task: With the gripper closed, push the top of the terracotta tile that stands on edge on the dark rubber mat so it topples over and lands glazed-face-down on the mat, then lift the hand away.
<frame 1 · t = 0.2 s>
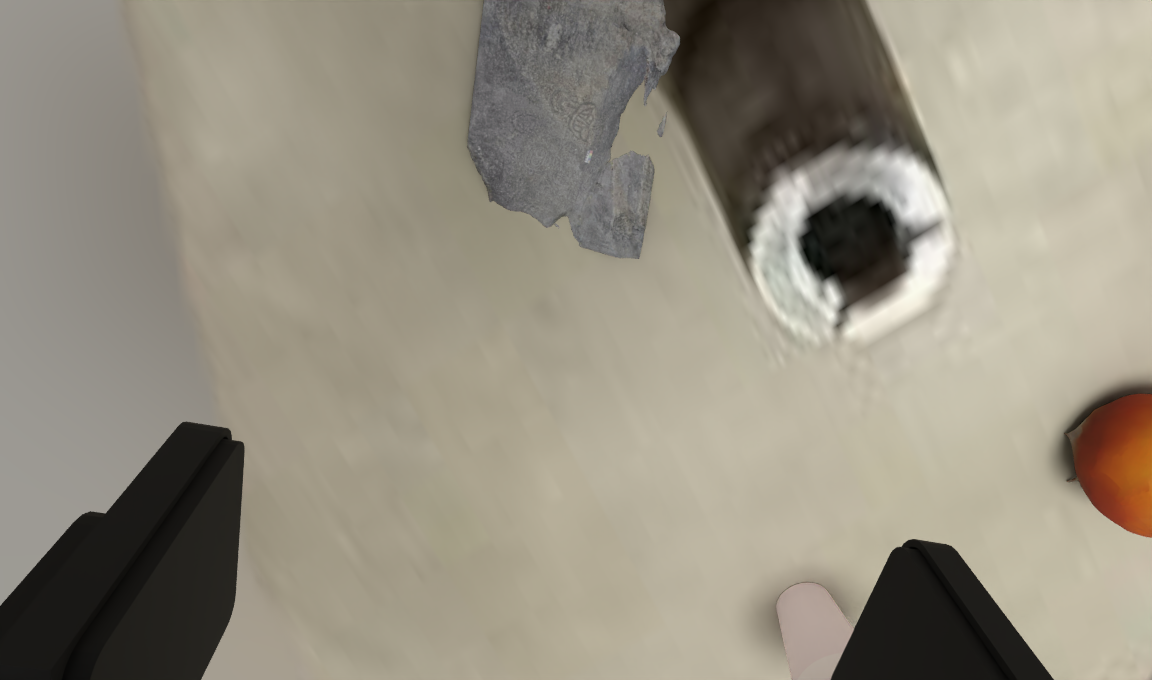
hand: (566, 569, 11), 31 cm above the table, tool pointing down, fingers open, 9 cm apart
fruit: (1112, 434, 48), on the table
stone slab: (577, 65, 38), on the table
smoothie: (802, 601, 52), on the table
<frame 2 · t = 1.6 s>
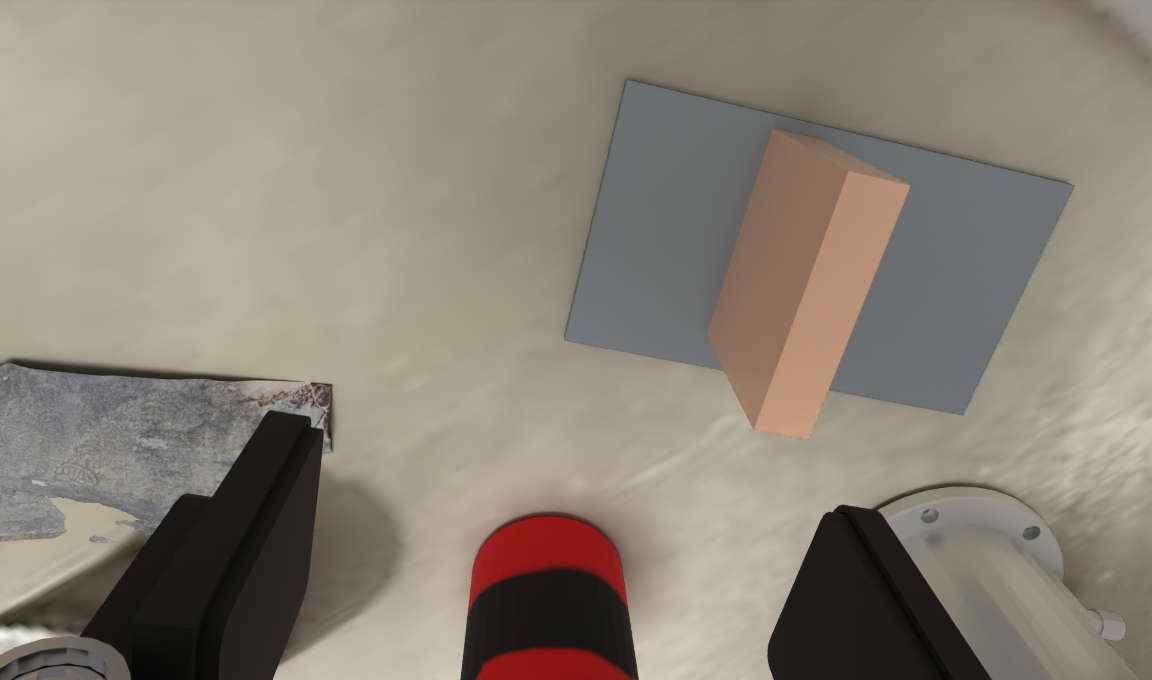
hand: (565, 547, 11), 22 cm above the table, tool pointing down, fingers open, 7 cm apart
stone slab: (142, 452, 36), on the table
mat: (808, 261, 33), on the table
soda can: (547, 569, 39), on the table
tile: (760, 242, 32), resting on mat
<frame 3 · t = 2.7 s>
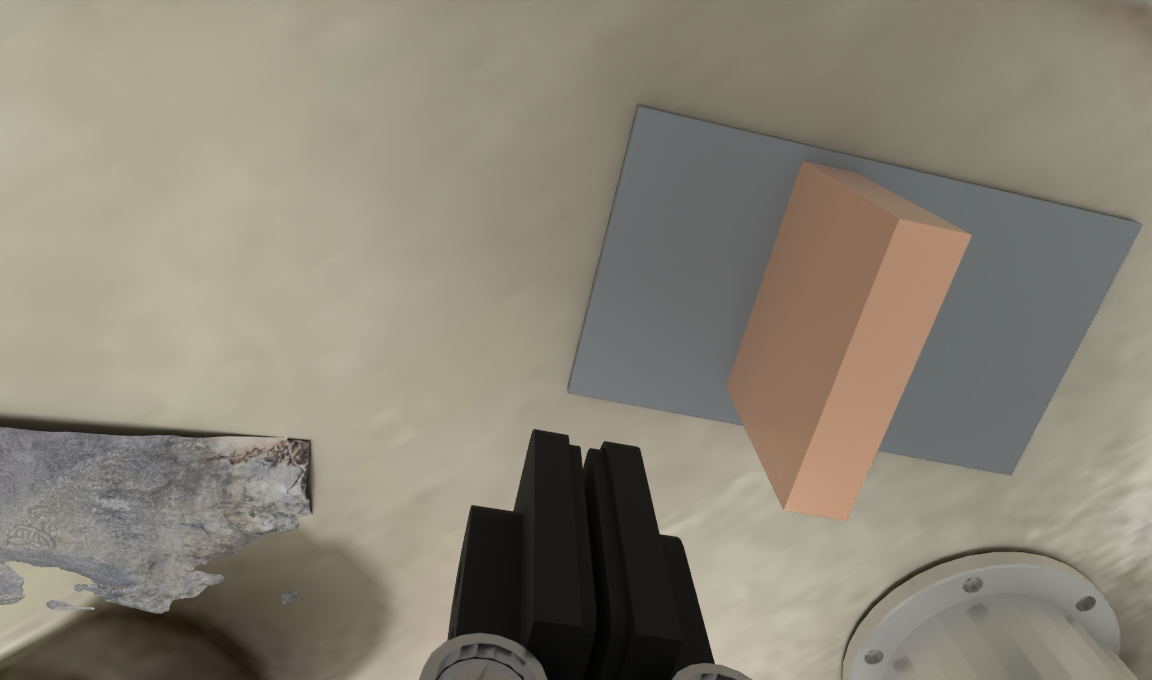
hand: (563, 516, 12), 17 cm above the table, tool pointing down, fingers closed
stone slab: (104, 511, 33), on the table
mat: (841, 306, 29), on the table
tile: (787, 286, 29), resting on mat
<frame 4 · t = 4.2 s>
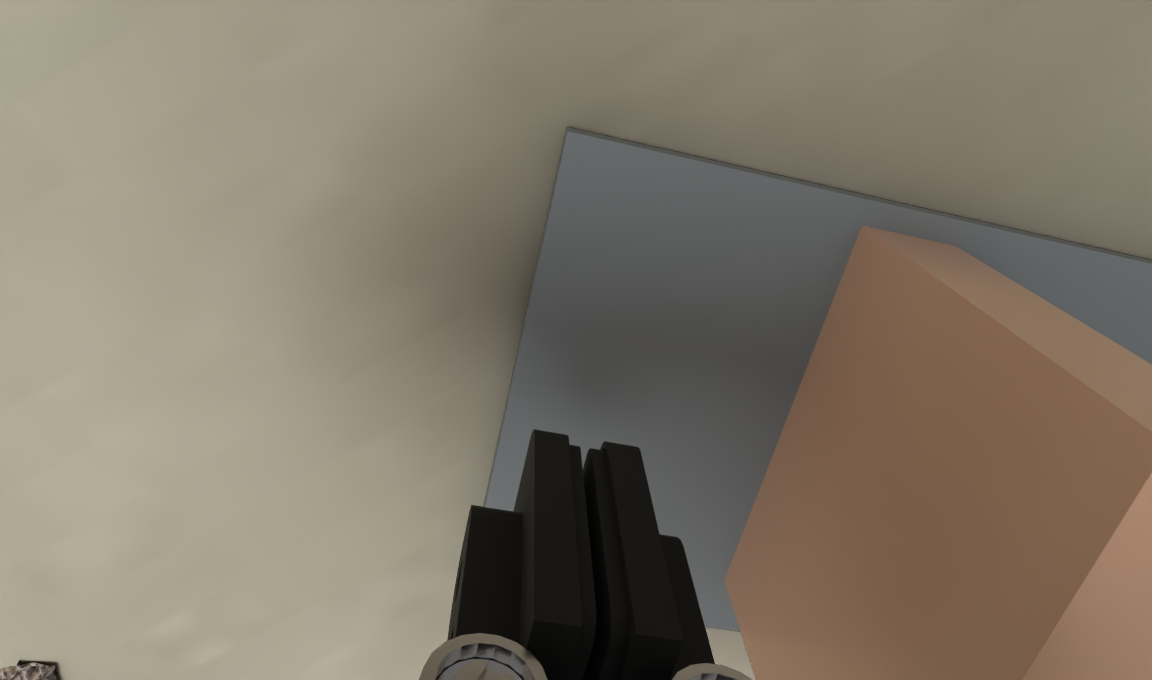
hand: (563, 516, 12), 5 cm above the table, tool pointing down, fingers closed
mat: (913, 454, 18), on the table
tile: (828, 429, 17), resting on mat
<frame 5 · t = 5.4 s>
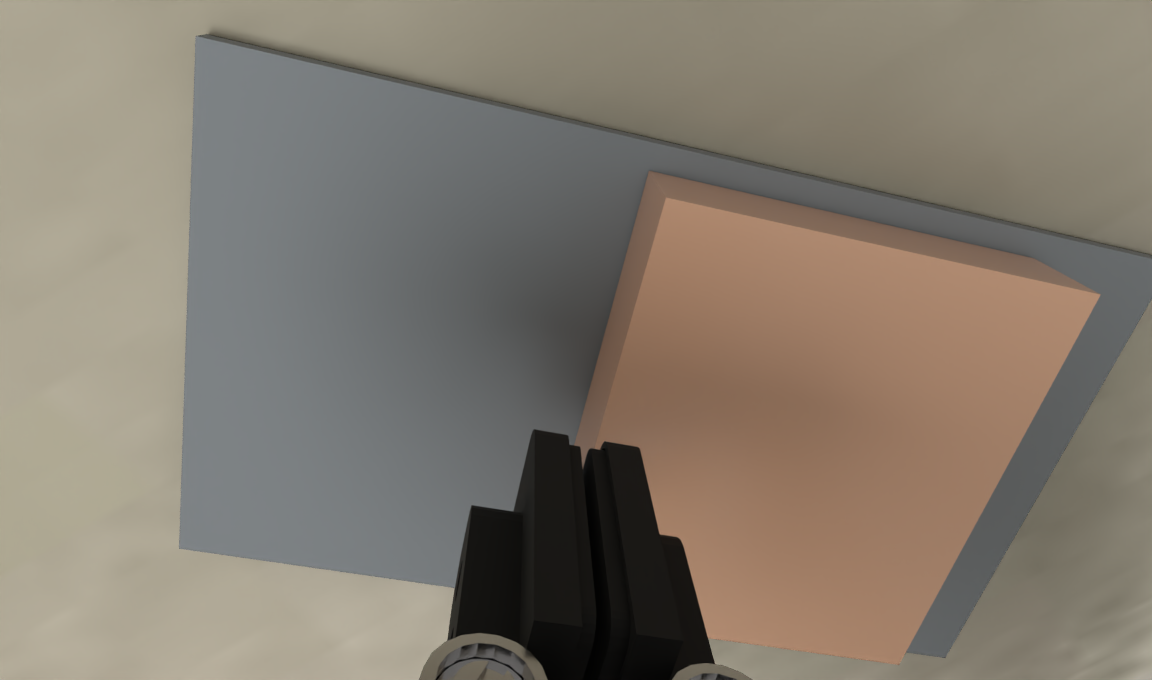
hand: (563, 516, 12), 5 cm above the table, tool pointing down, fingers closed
mat: (647, 401, 17), on the table
tile: (594, 405, 15), point 2 cm above the table, tilted 90°, touching mat
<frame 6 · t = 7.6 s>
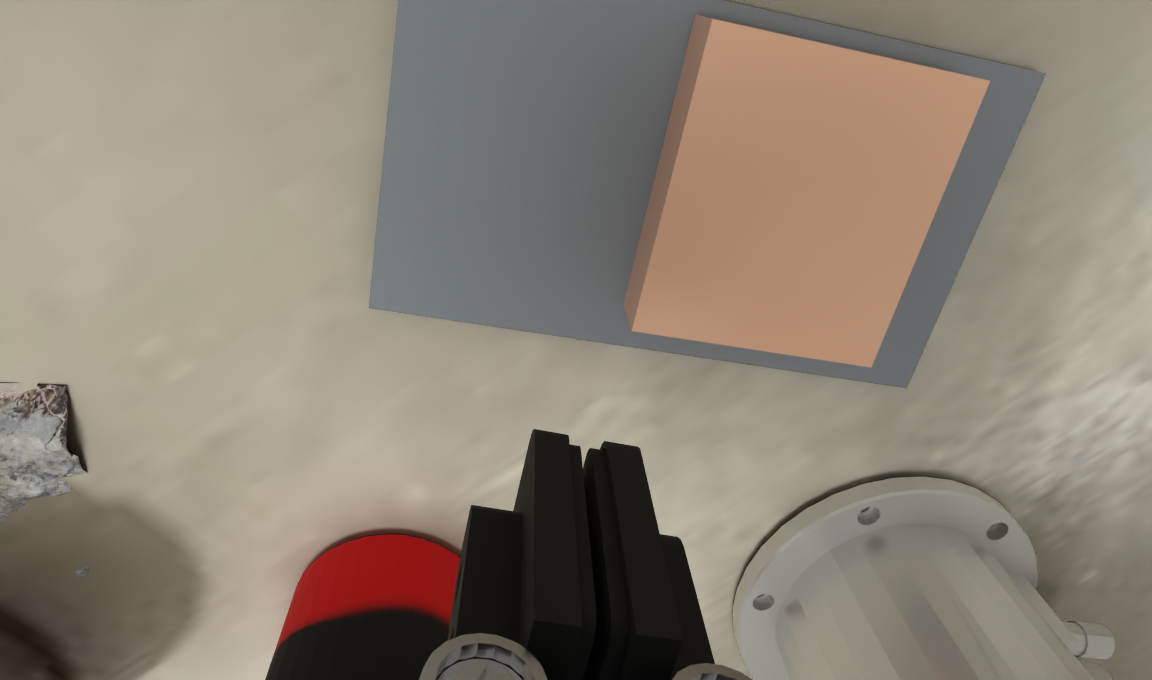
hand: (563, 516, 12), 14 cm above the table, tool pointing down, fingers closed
mat: (692, 190, 24), on the table
soda can: (394, 598, 31), on the table
tile: (662, 179, 23), point 2 cm above the table, tilted 90°, touching mat
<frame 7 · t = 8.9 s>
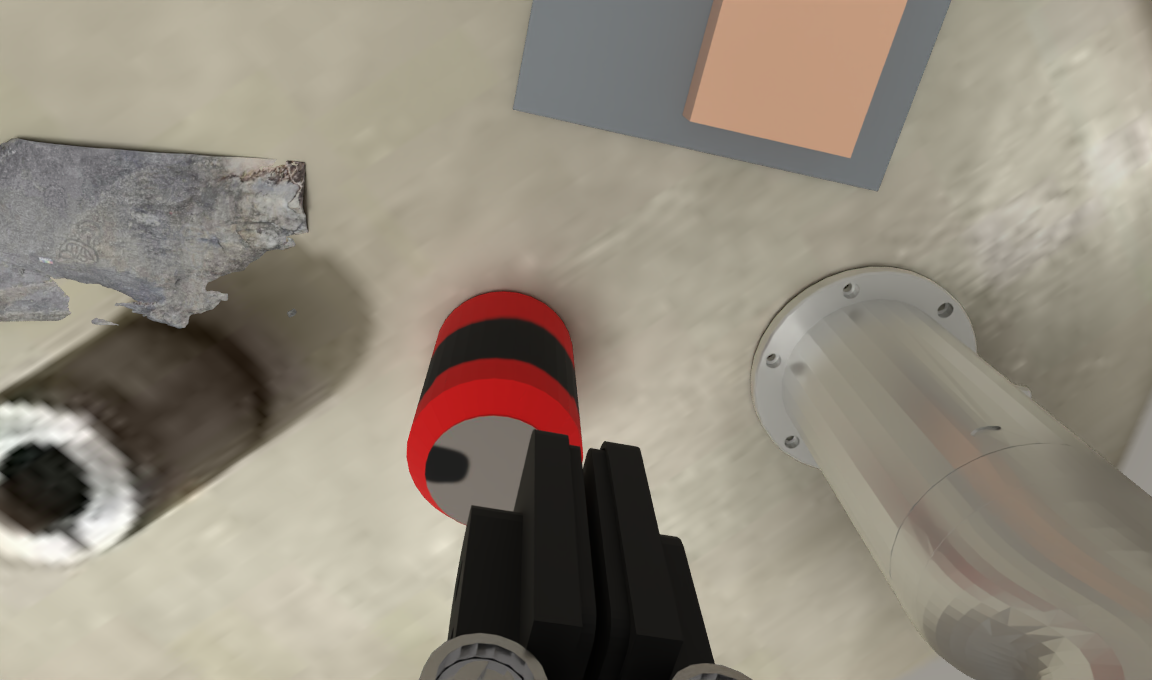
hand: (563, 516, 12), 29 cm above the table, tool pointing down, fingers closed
stone slab: (137, 237, 40), on the table
mat: (732, 35, 37), on the table
soda can: (504, 351, 43), on the table
tile: (713, 17, 35), point 2 cm above the table, tilted 90°, touching mat
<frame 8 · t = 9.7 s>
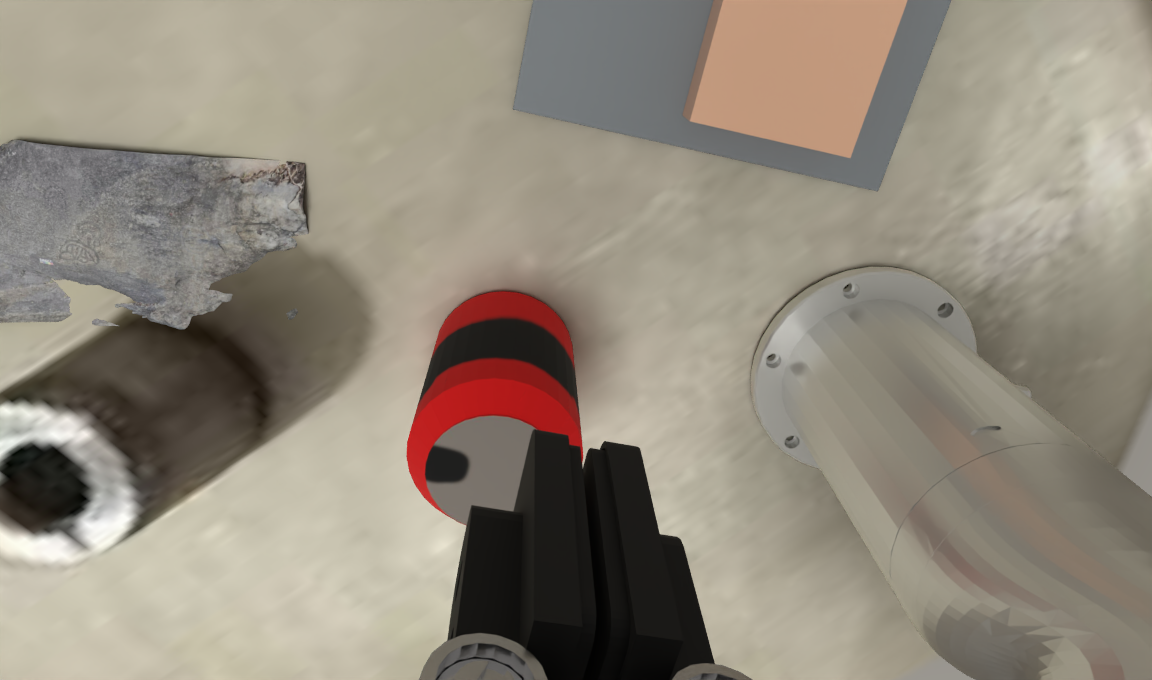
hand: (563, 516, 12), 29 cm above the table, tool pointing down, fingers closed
stone slab: (138, 238, 40), on the table
mat: (732, 35, 37), on the table
soda can: (504, 350, 43), on the table
tile: (713, 17, 35), point 2 cm above the table, tilted 90°, touching mat
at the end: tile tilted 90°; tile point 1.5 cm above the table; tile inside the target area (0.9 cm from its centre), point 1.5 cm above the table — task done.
